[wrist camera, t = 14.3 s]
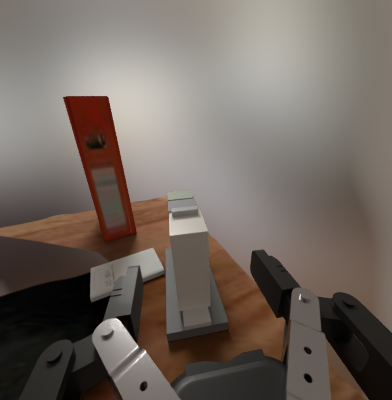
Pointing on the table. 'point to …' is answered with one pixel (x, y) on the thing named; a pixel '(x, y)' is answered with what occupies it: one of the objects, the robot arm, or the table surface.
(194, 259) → the block
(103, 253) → the table surface
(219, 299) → the board
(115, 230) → the file binder
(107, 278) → the external hard drive
